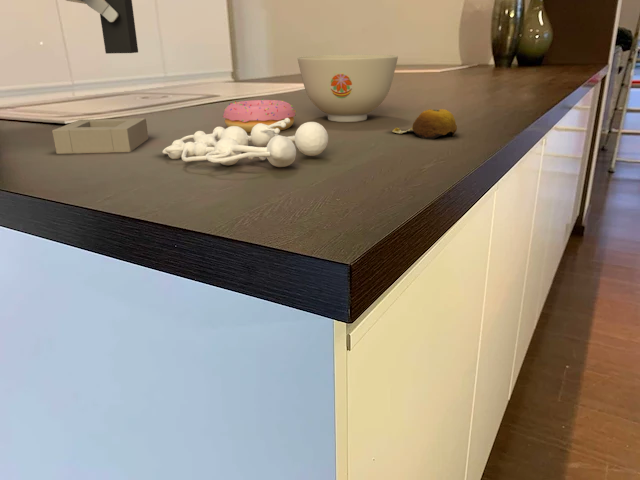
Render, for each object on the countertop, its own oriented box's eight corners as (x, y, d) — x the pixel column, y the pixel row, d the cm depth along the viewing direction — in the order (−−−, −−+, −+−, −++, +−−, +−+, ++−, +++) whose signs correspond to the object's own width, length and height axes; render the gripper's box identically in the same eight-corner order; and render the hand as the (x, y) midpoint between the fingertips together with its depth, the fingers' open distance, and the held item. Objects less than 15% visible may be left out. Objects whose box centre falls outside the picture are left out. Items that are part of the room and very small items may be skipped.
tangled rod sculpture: (130, 172, 62) (122, 137, 60) (216, 141, 72) (211, 110, 71) (262, 190, 51) (257, 148, 50) (339, 151, 62) (337, 115, 61)
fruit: (438, 128, 80) (439, 103, 78) (472, 137, 72) (475, 110, 71) (388, 133, 77) (389, 107, 76) (419, 143, 70) (421, 114, 68)
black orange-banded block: (105, 53, 83) (95, -11, 80) (113, 52, 87) (104, -8, 84) (131, 53, 84) (123, -11, 80) (138, 52, 87) (131, -9, 84)
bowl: (410, 116, 92) (413, 54, 88) (369, 130, 79) (370, 59, 76) (330, 111, 100) (329, 54, 96) (280, 123, 87) (277, 58, 83)
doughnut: (209, 130, 82) (206, 102, 80) (261, 121, 89) (260, 95, 88) (259, 137, 75) (257, 107, 73) (310, 127, 83) (310, 99, 81)
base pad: (56, 154, 66) (51, 130, 65) (83, 141, 75) (79, 119, 74) (130, 153, 67) (127, 128, 66) (148, 139, 75) (145, 118, 74)
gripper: (25, -83, 70) (113, -1, 73) (82, -57, 89) (150, 7, 92) (-2, -44, 71) (86, 35, 75) (60, -27, 90) (127, 35, 94)
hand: (121, 19), depth 84 cm, fingers closed on black orange-banded block, 4 cm apart
